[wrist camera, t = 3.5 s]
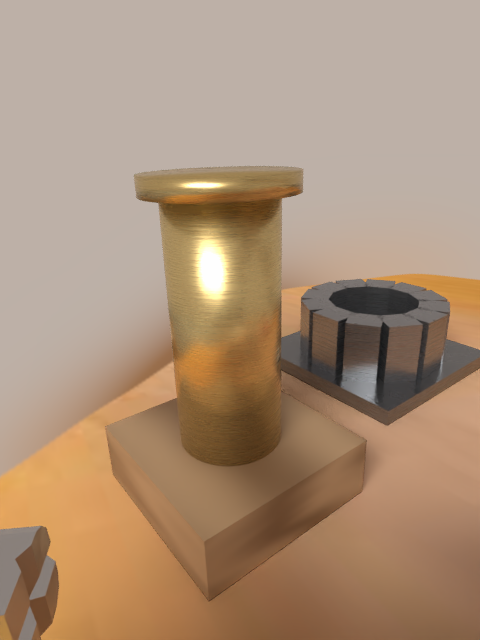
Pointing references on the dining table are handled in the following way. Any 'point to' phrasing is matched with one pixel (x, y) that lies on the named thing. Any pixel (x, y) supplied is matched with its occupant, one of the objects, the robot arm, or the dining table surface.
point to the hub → (376, 346)
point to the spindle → (224, 303)
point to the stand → (235, 489)
